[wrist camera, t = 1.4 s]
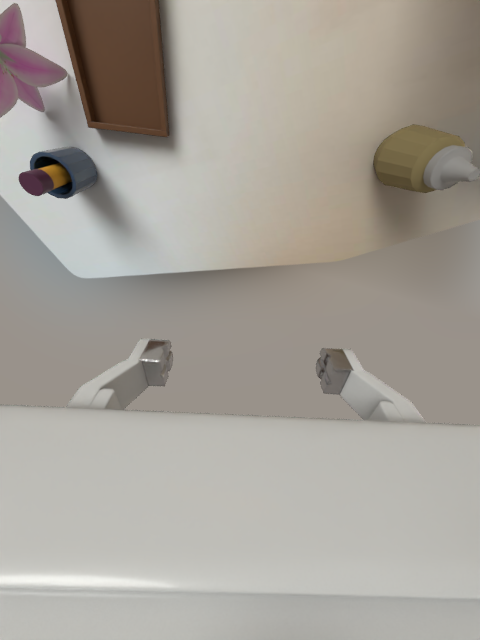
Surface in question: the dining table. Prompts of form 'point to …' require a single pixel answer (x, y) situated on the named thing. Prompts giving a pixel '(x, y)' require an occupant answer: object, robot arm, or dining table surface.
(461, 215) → the dining table surface
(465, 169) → the squeeze bottle
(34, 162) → the pen cup
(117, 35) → the desk tray
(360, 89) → the dining table surface
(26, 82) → the lily
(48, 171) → the glue stick
